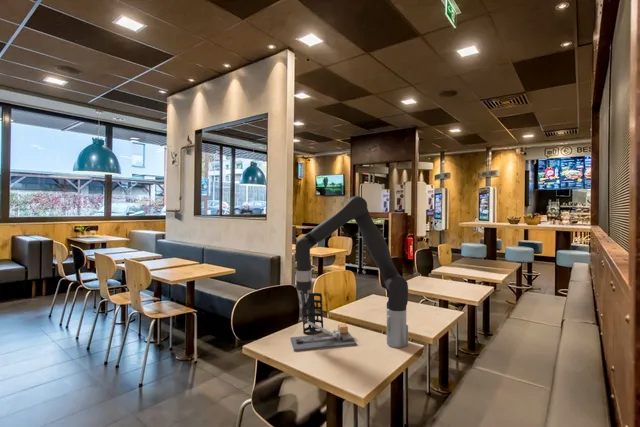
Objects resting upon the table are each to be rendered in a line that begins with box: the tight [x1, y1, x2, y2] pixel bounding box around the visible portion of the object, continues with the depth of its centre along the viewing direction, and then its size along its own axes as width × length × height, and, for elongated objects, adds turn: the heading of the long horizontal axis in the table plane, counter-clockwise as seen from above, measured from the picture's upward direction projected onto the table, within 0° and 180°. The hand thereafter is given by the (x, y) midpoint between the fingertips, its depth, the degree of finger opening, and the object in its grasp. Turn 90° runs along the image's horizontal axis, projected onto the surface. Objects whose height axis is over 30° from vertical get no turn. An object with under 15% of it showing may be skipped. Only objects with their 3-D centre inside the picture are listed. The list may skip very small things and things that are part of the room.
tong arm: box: [299, 316, 334, 335], centre depth 165 cm, size 19×3×1 cm, turn 103°
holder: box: [302, 292, 324, 335], centre depth 179 cm, size 11×8×20 cm
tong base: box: [296, 329, 354, 344], centre depth 167 cm, size 27×11×3 cm, turn 102°
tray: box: [290, 333, 358, 352], centre depth 166 cm, size 30×14×1 cm, turn 102°
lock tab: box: [337, 323, 349, 333], centre depth 172 cm, size 4×4×3 cm
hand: (304, 314), depth 163 cm, fingers closed
